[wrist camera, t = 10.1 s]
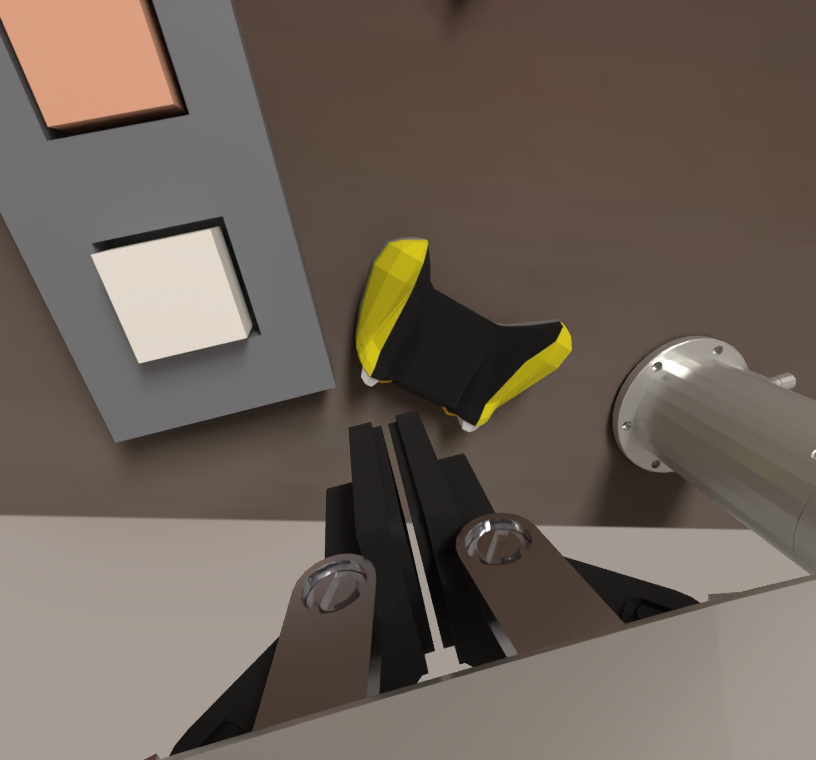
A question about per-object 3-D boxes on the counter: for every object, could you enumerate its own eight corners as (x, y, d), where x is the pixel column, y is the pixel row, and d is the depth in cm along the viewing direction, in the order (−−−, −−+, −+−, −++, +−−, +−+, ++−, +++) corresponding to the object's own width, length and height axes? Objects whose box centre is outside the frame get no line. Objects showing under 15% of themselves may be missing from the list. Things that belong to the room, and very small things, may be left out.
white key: (220, 226, 28) (210, 229, 25) (252, 324, 30) (247, 338, 27) (112, 248, 27) (90, 254, 24) (154, 347, 29) (138, 363, 27)
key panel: (194, -143, 24) (174, -203, 20) (333, 366, 35) (336, 387, 31) (-107, -105, 23) (-187, -162, 19) (136, 415, 33) (115, 442, 30)
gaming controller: (387, 218, 32) (319, 346, 34) (402, 223, 27) (321, 372, 29) (554, 320, 37) (485, 425, 39) (592, 340, 32) (511, 459, 34)
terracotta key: (144, -20, 24) (123, -47, 22) (187, 113, 27) (173, 103, 24) (19, -1, 24) (-19, -26, 21) (75, 133, 26) (48, 126, 23)
